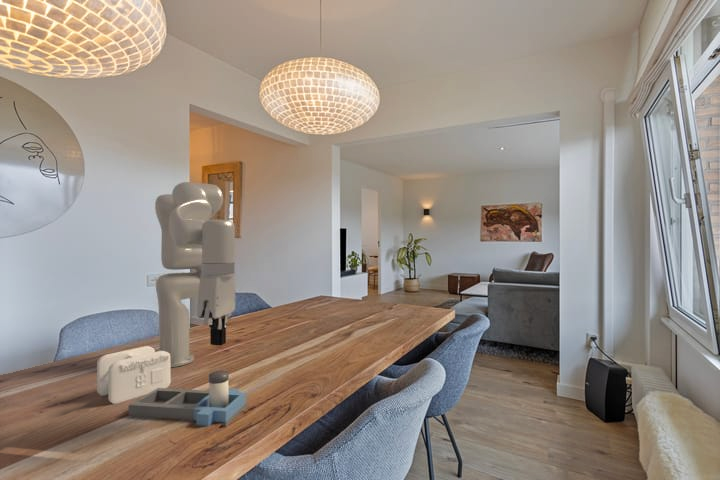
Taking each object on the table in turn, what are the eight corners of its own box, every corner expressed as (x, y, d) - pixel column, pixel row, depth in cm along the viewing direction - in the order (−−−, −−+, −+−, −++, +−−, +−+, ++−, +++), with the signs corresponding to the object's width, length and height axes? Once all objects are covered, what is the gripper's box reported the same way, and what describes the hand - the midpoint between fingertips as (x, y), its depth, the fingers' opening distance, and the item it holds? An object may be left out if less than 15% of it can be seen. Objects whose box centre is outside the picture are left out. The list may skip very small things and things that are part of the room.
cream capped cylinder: (205, 414, 85) (205, 376, 85) (215, 406, 89) (215, 370, 89) (222, 415, 84) (222, 377, 84) (232, 407, 88) (232, 370, 89)
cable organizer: (155, 381, 108) (155, 343, 108) (171, 390, 102) (171, 349, 102) (96, 399, 96) (96, 356, 96) (110, 410, 90) (110, 364, 90)
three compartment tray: (121, 423, 83) (121, 408, 83) (163, 397, 97) (163, 384, 97) (221, 431, 79) (221, 415, 79) (249, 403, 93) (249, 389, 93)
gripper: (220, 267, 95) (220, 335, 95) (185, 272, 80) (184, 353, 80) (246, 267, 94) (246, 336, 94) (215, 273, 79) (215, 355, 79)
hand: (218, 344), depth 87 cm, fingers closed
